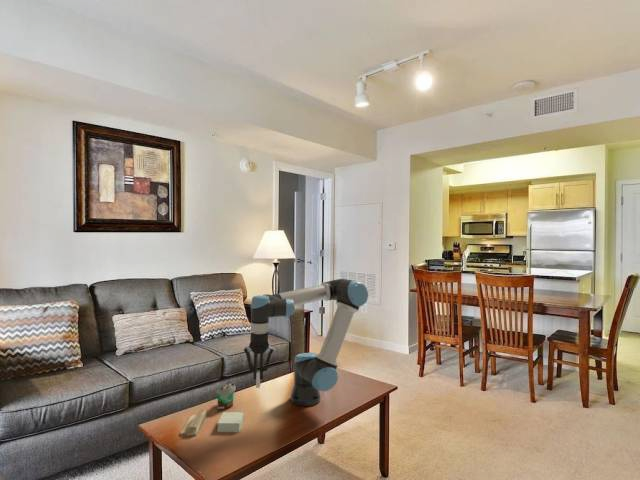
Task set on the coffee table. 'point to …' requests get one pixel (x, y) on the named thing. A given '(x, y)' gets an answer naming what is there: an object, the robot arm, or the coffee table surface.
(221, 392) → the food container
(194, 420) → the beige ridged bar
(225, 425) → the block
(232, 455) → the coffee table surface
